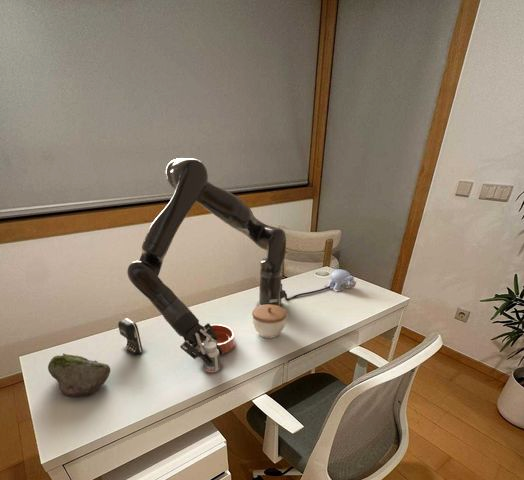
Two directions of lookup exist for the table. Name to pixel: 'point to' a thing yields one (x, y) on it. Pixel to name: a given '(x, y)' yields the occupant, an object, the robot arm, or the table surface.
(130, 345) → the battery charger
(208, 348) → the pill bottle
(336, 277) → the hippopotamus toy
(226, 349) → the terracotta bowl
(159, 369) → the table surface
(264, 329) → the lidded bowl
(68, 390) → the stone
